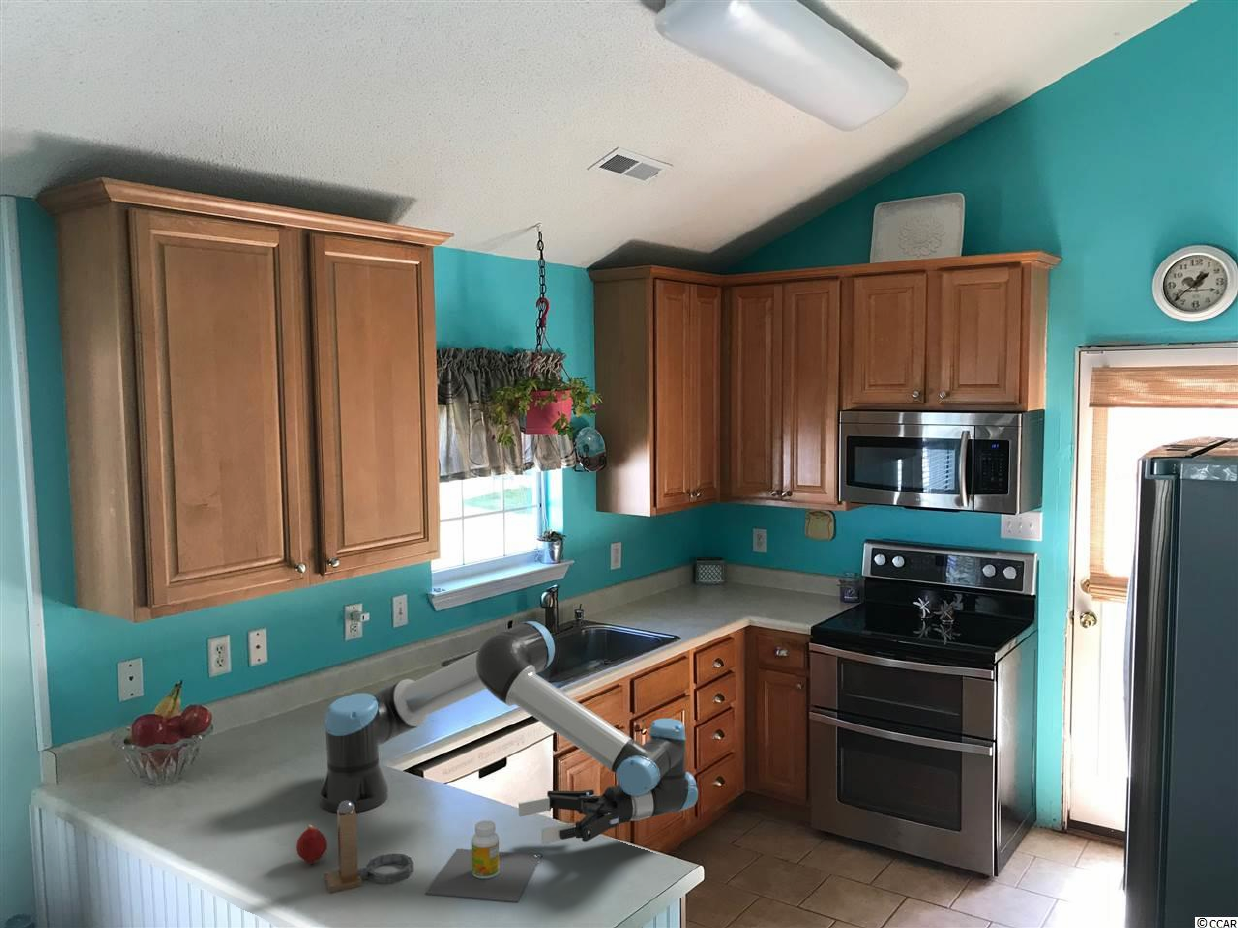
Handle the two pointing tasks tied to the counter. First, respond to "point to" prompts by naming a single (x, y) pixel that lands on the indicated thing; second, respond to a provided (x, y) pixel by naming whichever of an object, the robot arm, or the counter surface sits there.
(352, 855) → the ring stand
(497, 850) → the supplement bottle
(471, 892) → the mat
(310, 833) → the onion
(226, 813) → the counter surface
